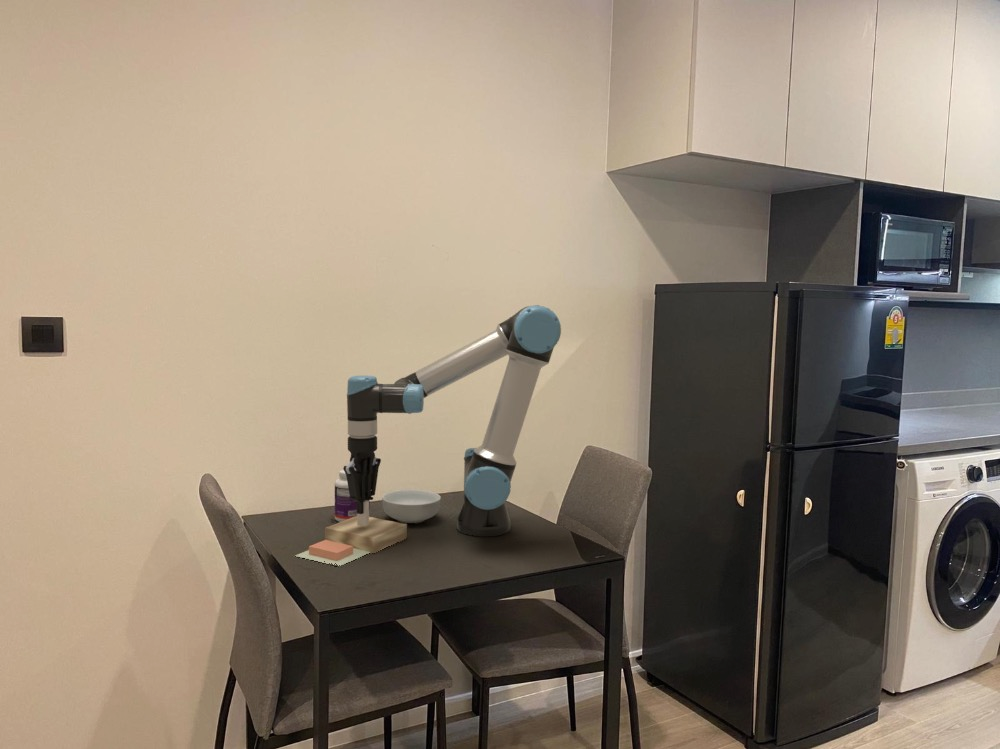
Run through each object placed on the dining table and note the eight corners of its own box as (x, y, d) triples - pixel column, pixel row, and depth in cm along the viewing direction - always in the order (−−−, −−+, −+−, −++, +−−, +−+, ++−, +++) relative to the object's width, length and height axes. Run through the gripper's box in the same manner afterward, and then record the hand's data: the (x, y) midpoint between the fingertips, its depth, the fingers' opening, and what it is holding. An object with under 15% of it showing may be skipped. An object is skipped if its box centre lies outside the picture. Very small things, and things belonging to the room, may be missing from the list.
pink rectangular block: (336, 553, 175) (336, 561, 175) (353, 546, 180) (353, 553, 181) (308, 546, 179) (308, 554, 180) (325, 539, 185) (325, 547, 185)
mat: (370, 553, 182) (370, 552, 182) (338, 567, 172) (338, 566, 172) (327, 543, 189) (327, 542, 189) (294, 556, 178) (294, 555, 178)
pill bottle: (344, 514, 215) (344, 466, 213) (368, 517, 212) (368, 469, 211) (329, 522, 207) (329, 472, 206) (353, 525, 205) (353, 475, 203)
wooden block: (406, 538, 194) (406, 524, 194) (373, 553, 182) (374, 538, 181) (359, 528, 202) (359, 514, 201) (325, 542, 189) (325, 527, 189)
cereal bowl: (385, 530, 201) (386, 505, 200) (378, 513, 217) (378, 490, 216) (445, 526, 206) (446, 502, 205) (434, 510, 222) (434, 487, 221)
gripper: (366, 430, 194) (366, 516, 197) (334, 438, 183) (335, 529, 185) (389, 433, 191) (389, 520, 193) (358, 441, 179) (359, 533, 182)
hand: (363, 524), depth 189 cm, fingers closed
